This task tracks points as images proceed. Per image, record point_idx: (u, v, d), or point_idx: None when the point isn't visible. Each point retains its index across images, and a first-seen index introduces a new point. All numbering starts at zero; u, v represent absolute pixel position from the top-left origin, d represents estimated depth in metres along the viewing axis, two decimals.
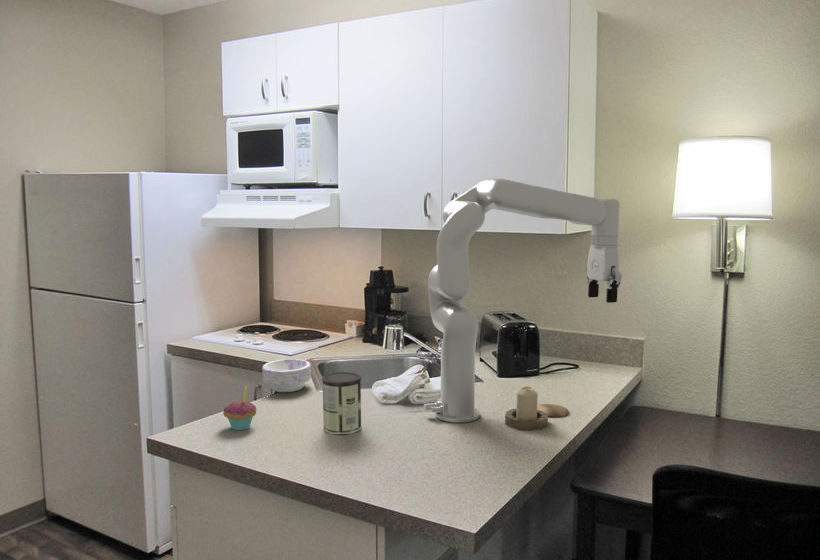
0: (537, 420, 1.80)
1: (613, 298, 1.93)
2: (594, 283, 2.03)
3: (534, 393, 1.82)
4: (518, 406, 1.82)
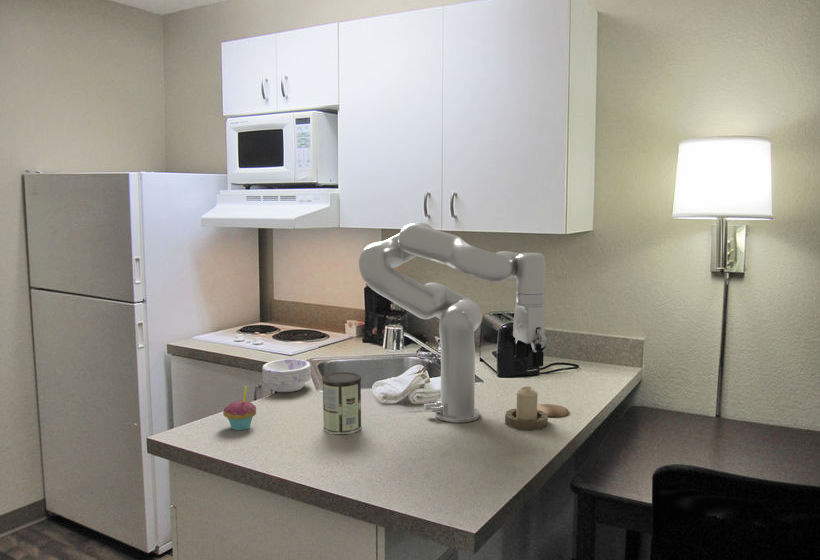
0: (537, 420, 1.80)
1: (538, 362, 1.76)
2: (521, 343, 1.86)
3: (534, 393, 1.82)
4: (518, 406, 1.82)
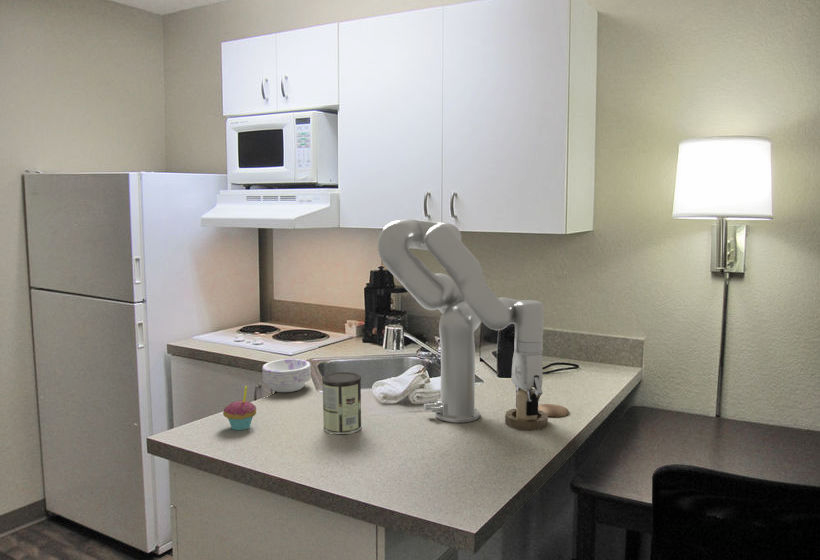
0: (537, 420, 1.80)
1: (533, 411, 1.80)
2: None
3: None
4: (518, 406, 1.82)
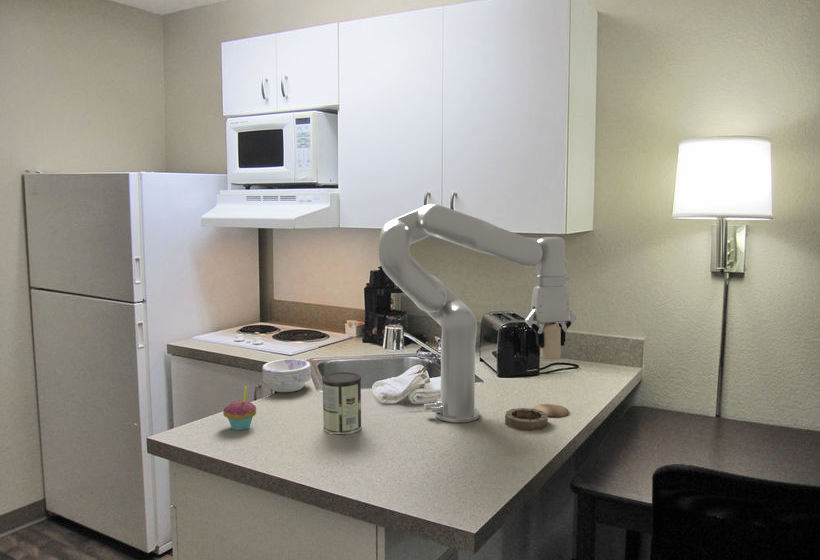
0: (537, 420, 1.80)
1: (537, 342, 1.88)
2: None
3: (545, 327, 1.87)
4: None
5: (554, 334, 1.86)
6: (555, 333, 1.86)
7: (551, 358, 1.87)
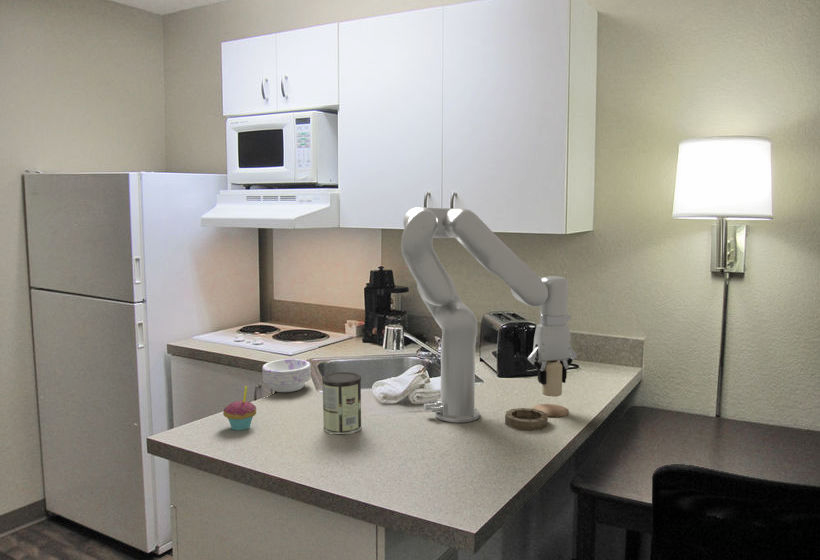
0: (537, 420, 1.80)
1: (539, 379, 1.92)
2: None
3: (547, 365, 1.90)
4: None
5: (556, 371, 1.90)
6: (557, 371, 1.90)
7: (553, 395, 1.91)
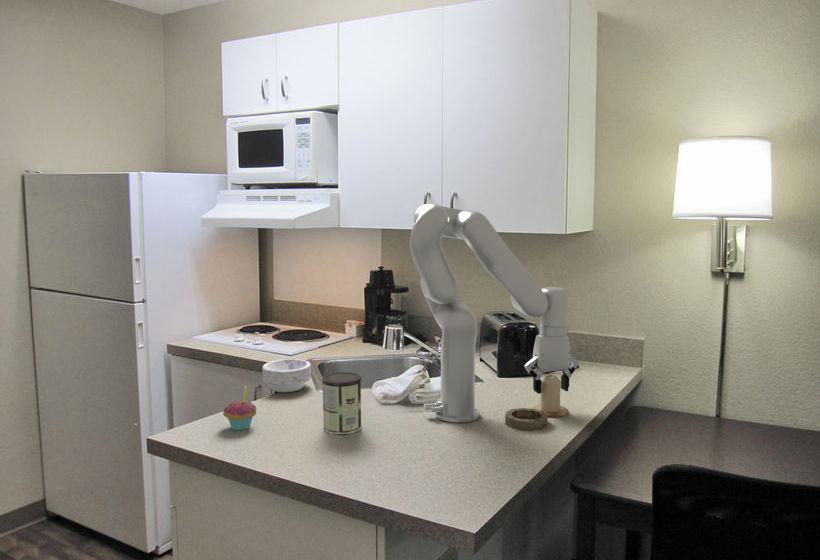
0: (537, 420, 1.80)
1: (534, 388, 1.92)
2: (564, 375, 1.94)
3: (546, 381, 1.91)
4: None
5: (554, 388, 1.90)
6: (555, 387, 1.90)
7: (551, 411, 1.91)
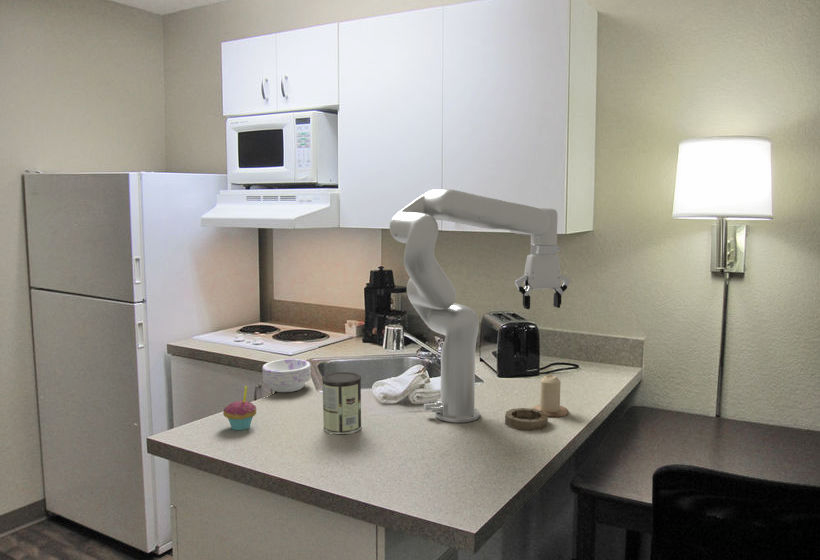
0: (537, 420, 1.80)
1: (523, 304, 2.00)
2: (556, 293, 2.02)
3: (546, 381, 1.91)
4: None
5: (554, 388, 1.90)
6: (555, 387, 1.90)
7: (551, 411, 1.91)
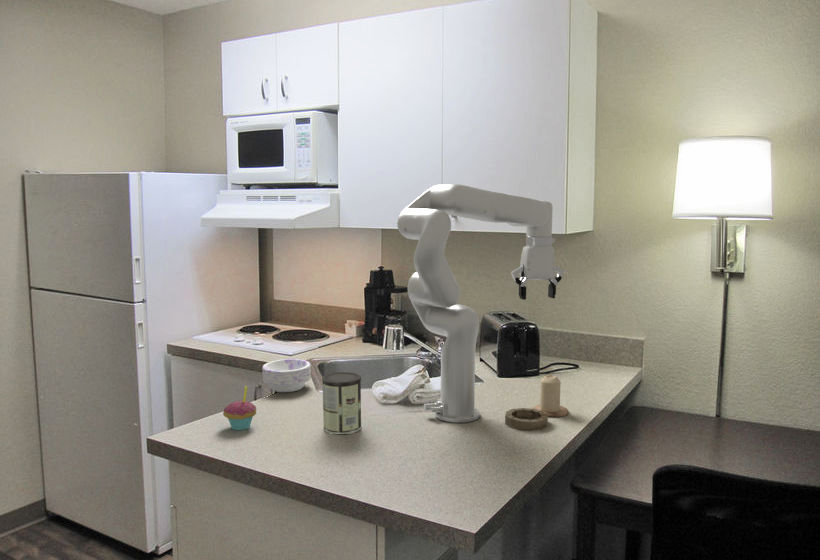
0: (537, 420, 1.80)
1: (519, 295, 2.04)
2: (551, 284, 2.07)
3: (546, 381, 1.91)
4: None
5: (554, 388, 1.90)
6: (555, 387, 1.90)
7: (551, 411, 1.91)
